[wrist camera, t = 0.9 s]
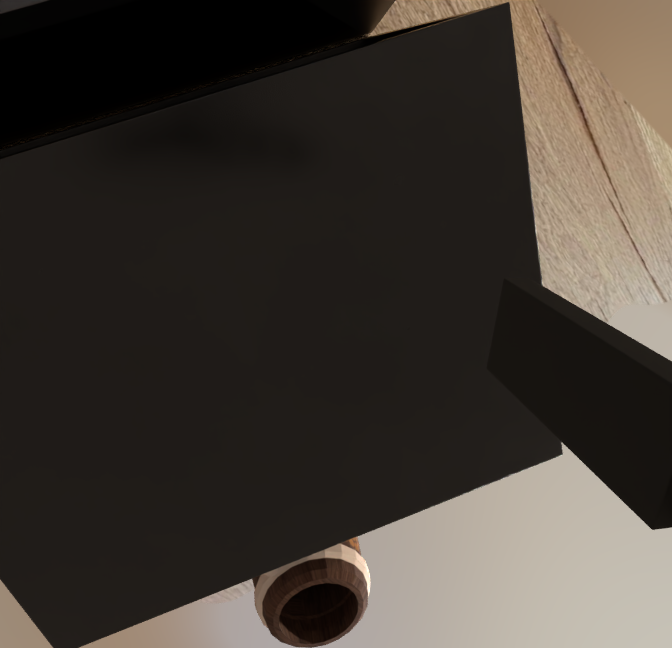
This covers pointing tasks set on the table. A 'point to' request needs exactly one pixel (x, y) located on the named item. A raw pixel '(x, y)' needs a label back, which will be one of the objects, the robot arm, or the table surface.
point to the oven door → (149, 50)
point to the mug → (315, 596)
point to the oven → (258, 321)
